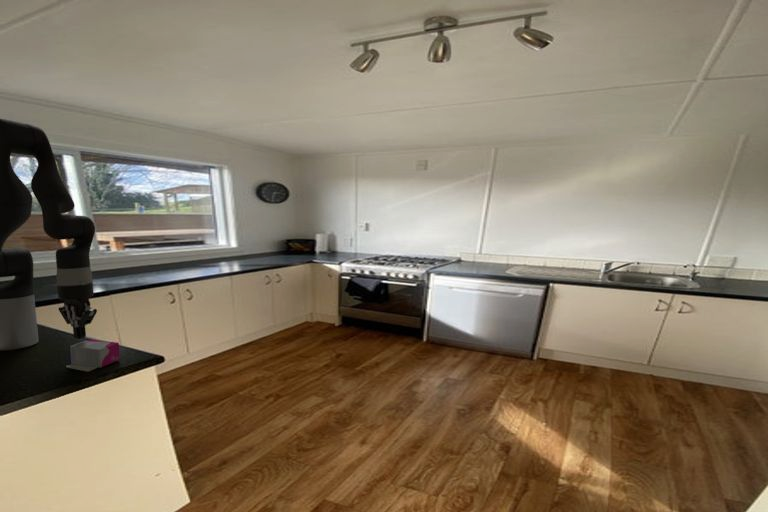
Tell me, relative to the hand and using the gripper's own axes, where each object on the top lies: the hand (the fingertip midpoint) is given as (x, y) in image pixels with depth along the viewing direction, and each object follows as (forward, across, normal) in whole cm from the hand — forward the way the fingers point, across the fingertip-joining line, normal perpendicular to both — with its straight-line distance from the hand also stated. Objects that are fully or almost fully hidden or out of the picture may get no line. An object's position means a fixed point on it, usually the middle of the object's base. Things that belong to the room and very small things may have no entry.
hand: (80, 337), depth 94 cm
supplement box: (+4, -1, 0) cm, 5 cm away
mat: (+8, +4, 0) cm, 9 cm away
